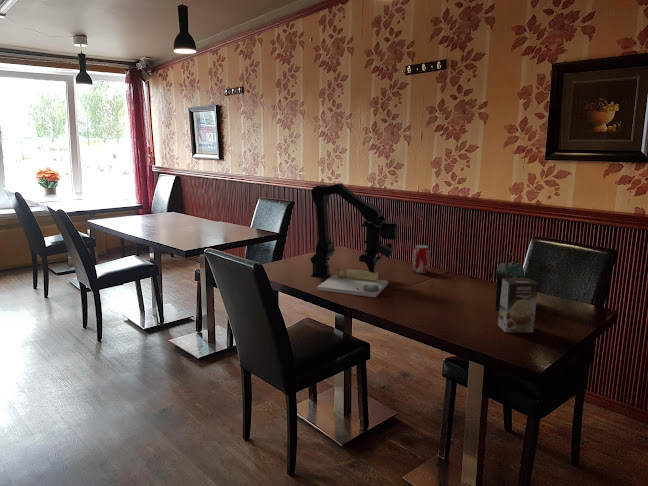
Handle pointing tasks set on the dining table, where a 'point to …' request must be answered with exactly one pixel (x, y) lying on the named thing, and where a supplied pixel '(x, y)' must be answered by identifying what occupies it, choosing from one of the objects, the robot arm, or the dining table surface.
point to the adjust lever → (357, 274)
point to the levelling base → (353, 286)
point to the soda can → (421, 259)
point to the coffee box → (517, 304)
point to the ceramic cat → (507, 276)
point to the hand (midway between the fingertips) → (372, 274)
